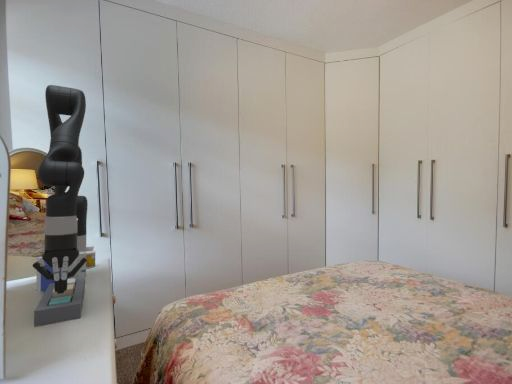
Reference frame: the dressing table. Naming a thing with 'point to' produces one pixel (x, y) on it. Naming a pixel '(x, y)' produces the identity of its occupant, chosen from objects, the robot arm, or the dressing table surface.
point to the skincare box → (81, 271)
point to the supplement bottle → (90, 256)
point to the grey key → (71, 281)
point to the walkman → (41, 280)
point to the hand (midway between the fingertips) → (60, 292)
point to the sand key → (68, 291)
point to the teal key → (60, 300)
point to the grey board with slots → (59, 306)
